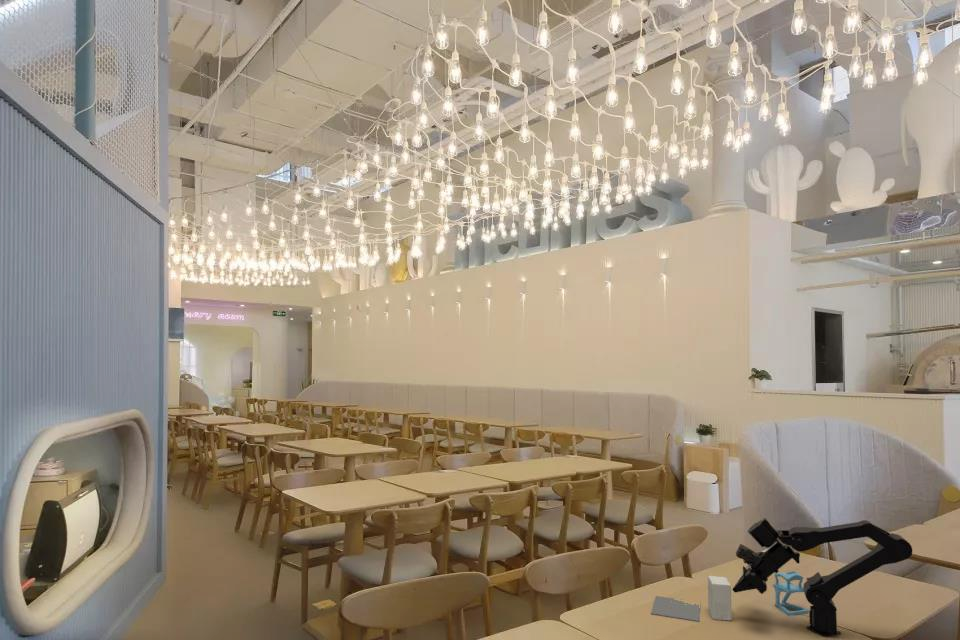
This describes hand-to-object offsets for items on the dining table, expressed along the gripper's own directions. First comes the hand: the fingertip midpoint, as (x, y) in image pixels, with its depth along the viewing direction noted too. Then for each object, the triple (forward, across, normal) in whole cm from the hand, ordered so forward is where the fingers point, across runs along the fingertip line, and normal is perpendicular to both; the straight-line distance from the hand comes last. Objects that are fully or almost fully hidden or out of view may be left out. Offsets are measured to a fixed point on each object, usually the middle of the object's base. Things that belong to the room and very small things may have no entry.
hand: (733, 590), depth 190 cm
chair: (-6, -14, +17) cm, 23 cm away
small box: (+9, 0, +3) cm, 9 cm away
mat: (+18, 0, -6) cm, 18 cm away
